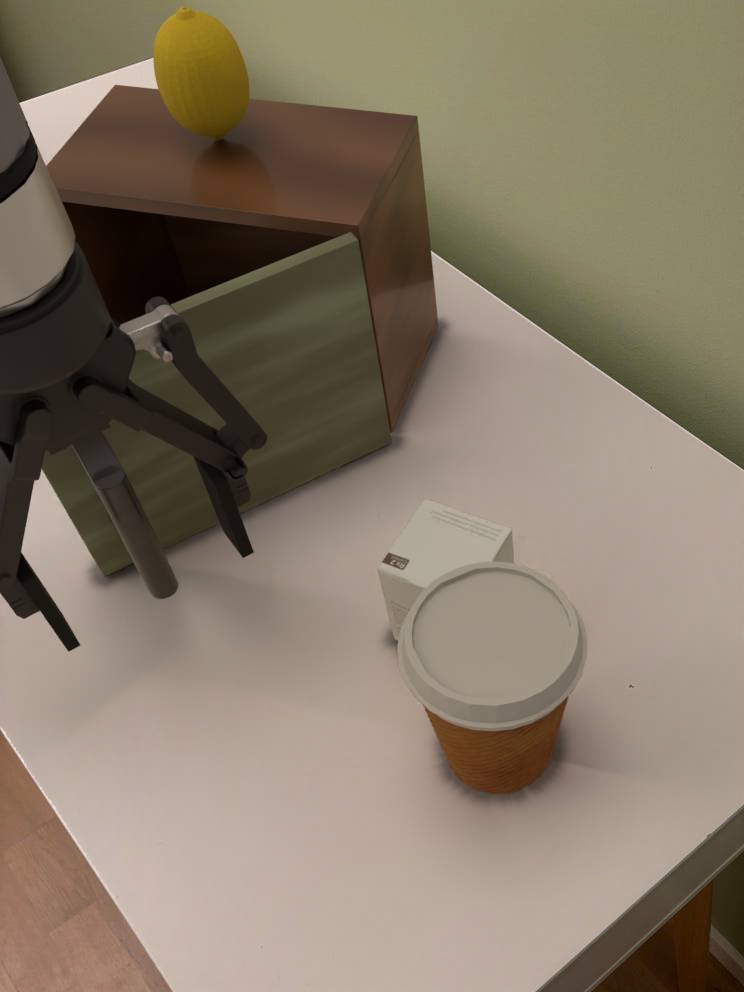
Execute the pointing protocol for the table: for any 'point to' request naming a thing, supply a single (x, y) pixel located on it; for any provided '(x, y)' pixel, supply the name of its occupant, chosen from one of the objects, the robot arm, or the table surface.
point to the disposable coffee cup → (493, 669)
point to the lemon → (201, 73)
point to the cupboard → (253, 208)
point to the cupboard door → (262, 392)
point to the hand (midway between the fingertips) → (154, 586)
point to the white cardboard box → (436, 554)
